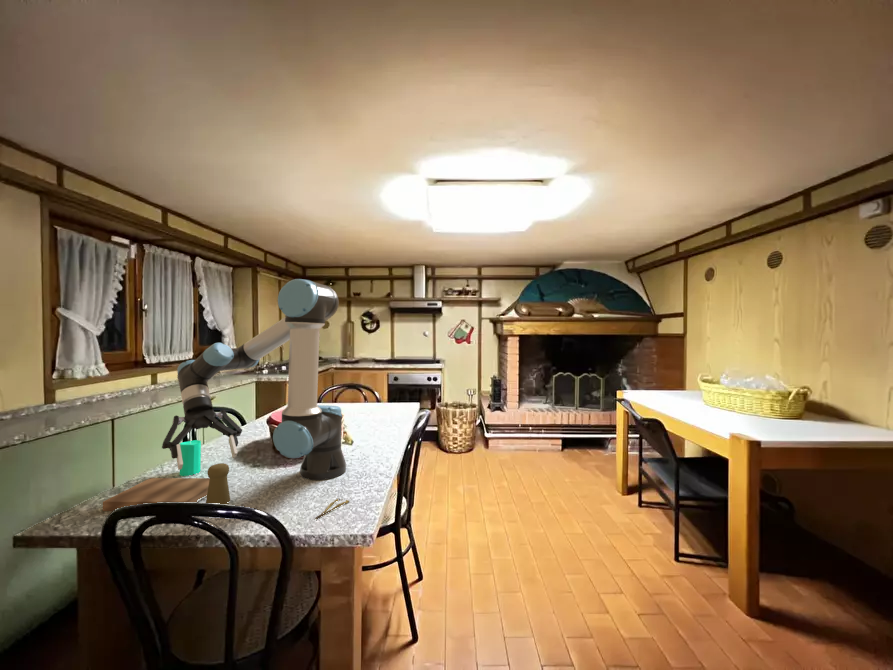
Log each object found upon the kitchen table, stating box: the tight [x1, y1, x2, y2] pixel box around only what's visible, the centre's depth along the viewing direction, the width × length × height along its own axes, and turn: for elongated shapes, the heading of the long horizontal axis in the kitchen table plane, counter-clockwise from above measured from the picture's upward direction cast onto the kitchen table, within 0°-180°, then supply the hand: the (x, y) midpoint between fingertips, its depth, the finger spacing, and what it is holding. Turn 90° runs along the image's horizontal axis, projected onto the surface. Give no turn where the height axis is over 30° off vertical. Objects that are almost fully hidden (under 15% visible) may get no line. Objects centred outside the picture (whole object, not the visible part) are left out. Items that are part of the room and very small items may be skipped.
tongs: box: [314, 498, 350, 520], centre depth 99 cm, size 4×13×2 cm, turn 164°
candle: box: [179, 437, 202, 477], centre depth 124 cm, size 6×6×12 cm
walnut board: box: [102, 477, 210, 512], centre depth 105 cm, size 22×16×2 cm
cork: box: [205, 463, 231, 505], centre depth 102 cm, size 6×6×11 cm
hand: (209, 461), depth 105 cm, fingers open, 13 cm apart
